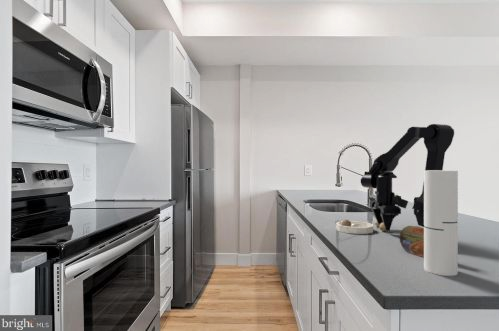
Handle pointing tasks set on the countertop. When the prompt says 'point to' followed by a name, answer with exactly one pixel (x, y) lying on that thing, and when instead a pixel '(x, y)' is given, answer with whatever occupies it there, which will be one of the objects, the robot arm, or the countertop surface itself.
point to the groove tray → (355, 227)
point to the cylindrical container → (441, 222)
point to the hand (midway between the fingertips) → (384, 228)
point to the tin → (413, 240)
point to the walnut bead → (346, 223)
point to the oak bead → (382, 227)
